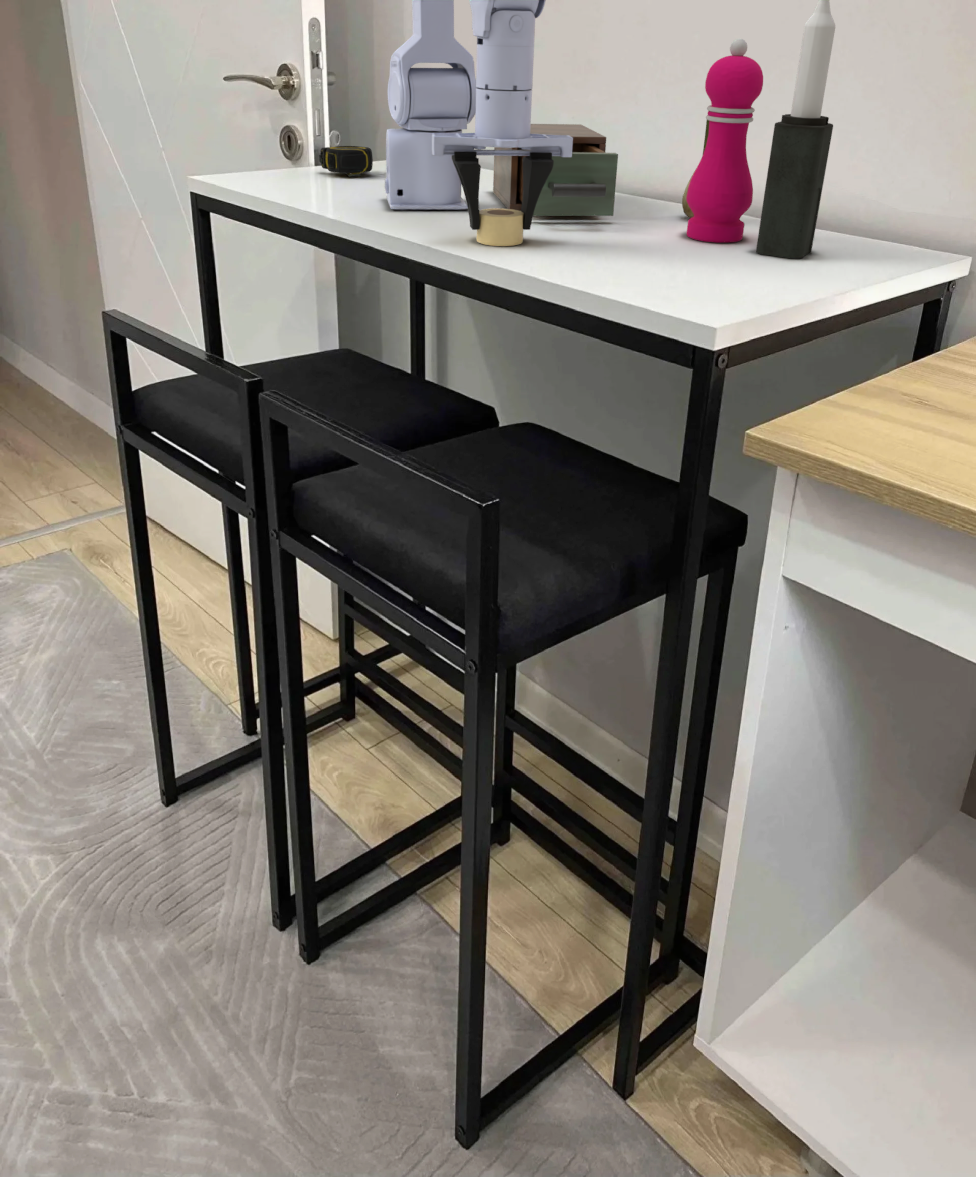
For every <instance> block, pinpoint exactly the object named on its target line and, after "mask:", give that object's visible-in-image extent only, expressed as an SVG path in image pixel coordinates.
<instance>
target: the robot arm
mask: <svg viewBox="0 0 976 1177" xmlns="http://www.w3.org/2000/svg"><path fill="white" fill-rule="evenodd" d="M546 1H547V0H469V7H470V9H471V10H470V11H471V23H472V24H471V30H472V35H473V36H474V37H476V67H475V61H474V56H473V54H472V53H470V51H469V50H468V49H467V48H466V47H464V46H463V45H462V44H461V43H460V42H459V41H458V40H457V39H456V38H455V0H411V10H412V11H411V12H412V13H411V15H412V16H411V17H412V35H411V36H410V37H409V38H408V39H407V40H406V41H404V42H403V43H402V44H401V45H400V46H399V47H398V48H397V49H396V50H394V51H393V53H392V54H391V56H390V60H389V76H388V82H387V104H388V110H389V113H390V115H391V118H392V119H393V120H394V122H395V123H396V125H398V127H400V128H387V129H386V133H385V166H386V168H385V171H386V177H385V178H384V193H385V194H386V201H387V203H388V206H389V208H390V209H391V210H467V212H468V217H469V228H470V229H471V230H473V231H477V230H479V210H480V200H479V199H480V198H479V197H480V194H479V193H480V181H481V180H480V179H481V170H482V169H481V168H482V166H481V164H480V162H479V161H480V160H479V159H480V158H479V157H477V156H492V157H494V156H525V157H524V158H523V159H522V162H523V197H522V207H521V212H523V213H524V221H523V231H526V230H527V231H530V230H531V228H532V227H531V226H532V222H533V217H534V216H533V213H534V210H535V207H536V204H537V201H538V198H539V195H540V193H541V191H542V188H543V186H544V184H545V182H546V180H547V178H548V176H549V175H550V173H551V171H552V168H553V165H554V161H553V160H552V156H561V157H572V146H573V138H572V137H571V136H569V135H544V134H530V127H531V124H532V102H533V82H534V58H535V36H536V35H535V34H536V19H538V18H539V17H540V16H541V14H542V13H543V10H544V8H545V5H546ZM416 64H445V65H446V64H447V65H449V66H450V67H413V66H414V65H416ZM475 68H476V69H475ZM475 70H476V71H475ZM474 117H475V119H474ZM473 119H474V120H475V121H474V132H463V130H467V129H468V125H469V124H470V123H471V122H472V120H473ZM494 147H500V148H518V147H519V148H521V149H524V150H494V149H487V148H494ZM462 190H463V194H464V197H465V199H464V198H463V197H462Z"/></svg>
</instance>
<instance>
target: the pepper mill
mask: <svg viewBox="0 0 976 1177" xmlns="http://www.w3.org/2000/svg"><path fill="white" fill-rule="evenodd" d="M747 51H748V44H747V42H746V40H745V39H743V38H735V39H734V40H733V41H732V42H731V44H730V47H729V52H730V54H731V55H727V56H724V57H721V58H718V59H717V60H716V61H714V63H713V64H712V65H711V66H710V68H709V70H708V71H707V73H706V78H705V83H704V85H705V86H704V90H705V93H706V95H707V96H708V98H709V100H710V105H708V106H707V107H706V110H707V115H706V116H705V119H706V121H707V120H709V134H708V139H707V144H706V148H705V151H704V154H703V153H702V156H701V159H700V160H699V163H698V165H697V166H696V168H695V170H694V171H695V172H694V171H693V173H694V174H693V173H692V175H693V176H692V175H691V177H692V178H691V177H690V178H691V181H690V183H689V186H688V191H687V197H686V198H687V203H688V205H689V207H690V209H691V210H692V212H693V214H694V217H692V218H690V217H689V219H688V220H687V228H686V237H688V238H690V239H692V240H694V241H700V242H706V243H717V244H718V243H719V244H726V243H727V244H728V243H736V242H740V241H741V240H742V239H743V238H744V232H745V230H744V229H745V223H744V221H742V220H741V218H742V216H743V215H744V214H745V213H746V212H748V210H749V209H750V208H751V206H752V203H753V198H754V197H753V196H754V194H753V193H754V187H753V186H754V185H753V179H752V174H751V170H750V167H749V166H750V165H749V163H748V156H747V136H748V130H749V126H750V123H752V122H753V121H754V118H753V116H754V113H755V111H756V110H755V107H752V105H753V103H755V101H756V100H757V99H758V98H759V97H760V95H761V93H762V91H763V87H764V74H763V70H762V68H761V66H760V64H759V63H758V62H757V61H756V60H755V59H753V58H752V57H749V56H746V53H747Z"/></svg>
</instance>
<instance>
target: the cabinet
mask: <svg viewBox="0 0 976 1177" xmlns="http://www.w3.org/2000/svg"><path fill="white" fill-rule="evenodd" d="M530 134H544V135H569V136H571V137H572V138H573V144H591V145H593V146H595V147H597V148H598V149H600V150H602V151H604V152H606V149H607V136H605V135H603V134H601V133H599V132H597V131H595V130H593V129H591V128H589V127H587V126H585V125H583V124H580V123H579V124H577V123H575V124H574V123H570V124H569V123H565V124H564V123H563V124H562V123H531V127H530ZM493 148H494V149H493V150H518V148H500V147H493ZM517 170H518V156H493V180H492V181H493V182H492V183H493V184H492V186H493V187H492V193H493V195H495V197H496V198H497V199H498V200H499V201H500V202H501V203H502V204H503V205H504V207H506V209H513V210H518V211H521V207H522V202H521V201H520V200H519V199H518V198H517V197H516V196H517Z"/></svg>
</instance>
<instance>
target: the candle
mask: <svg viewBox="0 0 976 1177" xmlns="http://www.w3.org/2000/svg"><path fill="white" fill-rule="evenodd" d="M814 8H815V9H814V10H813V12H812V14H811V16H810V17H809V18H808V19H807V21H806V22H805V24H804V26H803V33H802V39H801V45H800V53H799V59H798V64H797V65H798V66H797V72H796V77H795V78H796V80H795V84H794V91H793V98H792V104H791V110H790V113H785V114H782V115H781V121H778V122H777V121H776V122H775V123H774V127H773V135H772V141H771V146H770V153H769V161H768V167H767V173H766V180H765V187H764V194H763V202H762V208H761V213H760V214H761V215H760V221H759V227H758V233H757V234H758V235H757V240H756V248H755V253H756V254H759V255H763V256H771V257H778V258H785V259H795V260H796V259H797V260H799V259H803V258H804V257H805V256H806V255H810V254H812V251H813V246H814V241H815V240H814V239H815V233H816V228H817V222H818V217H819V210H820V204H821V201H822V200H821V199H822V194H823V187H824V183H825V182H824V181H825V175H826V170H827V164H828V159H829V153H830V147H831V141H832V136H833V129H834V124H833V123H831V122H829V119H830V117H829V116H824V115H822V109H823V103H824V97H825V91H826V86H827V81H828V73H829V68H830V62H831V55H832V50H833V44H834V38H835V33H836V23H835V20H834V18H833V15H832V13H831V3H830V0H818V1H817V4H816V7H814Z"/></svg>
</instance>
